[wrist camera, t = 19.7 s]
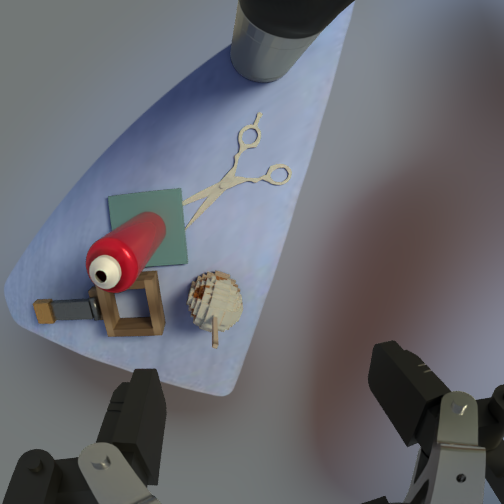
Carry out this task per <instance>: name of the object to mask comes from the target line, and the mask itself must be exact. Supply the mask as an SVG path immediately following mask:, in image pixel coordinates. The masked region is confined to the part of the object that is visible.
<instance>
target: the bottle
mask: <svg viewBox="0 0 504 504" xmlns="http://www.w3.org/2000/svg"><path fill="white" fill-rule="evenodd" d="M165 235H166V226H165V223H164V221H163V219H162V218H161V217H160V216H159V215H157V214H156V213H153V212H142V213H140V214H138V215H136V216H135V217H133V218H132V219H130V220H128V221H127V222H125V223H124V224H122V225H121V226H119V227H117V228H116V229H114V230H113V231H111V232H110V233H108V234H107V235H105V236H104V237H102V238H101V239H99V240H98V241H96V242H95V243H94V244H93V245H92V246H91V247H90V249H89V251H88V253H87V256H86V269H87V273H88V275H89V278H90V279H91V281H92V282H93V283H94V284H95V285H96V286H97V287H98V288H100V289H101V290H103V291H106V292H109V293H120V292H123V291H125V290H127V289H129V288H130V287H131V286H132V285H133V284H134V282H135V281H136V279H137V278H138V276H139V275H140V273H141V272H142V270H143V269H144V267H145V266H146V264H147V263H148V261H149V260H150V259H151V257H152V256H153V254H154V253H155V251H156V250H157V249H158V247H159V246H160V244H161V243H162V241H163V240H164V238H165Z"/></svg>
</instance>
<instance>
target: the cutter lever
mask: <svg viewBox="0 0 504 504" xmlns="http://www.w3.org/2000/svg"><path fill="white" fill-rule="evenodd" d="M33 306H34V310H35V313H36V316H37V319H38V323H39V324H52V323H55V321H56V320H79V319H93V318H94V320H96V321H97V320H100V319H101V315H100V312H99V308H98V303H97V299H96V297H95V296H93V297H90V298H89V299H72V300H52V299H37V300H36V301H35V302H34V303H33Z"/></svg>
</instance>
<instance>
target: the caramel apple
mask: <svg viewBox="0 0 504 504" xmlns="http://www.w3.org/2000/svg"><path fill="white" fill-rule="evenodd" d="M235 283H236V280H233V279H230V275H229V274H226V273H223V272H220V271H215V274H214V273H211V272H207V275H206V274H203V275H202V277H201V276H198V278H197V281H196V282H194V281H193V282H192V285H191V288H190V291H189V294H188V295H189V296H188V300H187V304H186V305H189V309H188V311H191V317H193V323H194V324H196V325H197V326H199V328H200V329H202V330H206V331H209V332H212V348H216V349H217V347H218V331H221V332H224V331H225V330H226V329H227V330H229V328H230V327H232V326H233V324H235V323H236V322H238V321H239V318H240V316H241V313H242V311H243V305H242V297H241V295H240V294H239V292H240V289H239V288H237V287H238V285H237V284H235Z"/></svg>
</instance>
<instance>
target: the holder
mask: <svg viewBox="0 0 504 504" xmlns="http://www.w3.org/2000/svg"><path fill="white" fill-rule="evenodd" d="M95 286H96V285H95ZM143 288H145V289H146V295H147V300H148V306H149V311H150V316H151V317H137V318H120V317H119V313H118V309H117V304H116V300H115V295H114V293H109V292H106V291H103V290H101V289H100V288H98V287H97V286H96V287H92V288H91V289H90V290H89V291H88V293H89V297H93V296H95V297H96V299H97V303H98V308H99V312H100V315H101V319H100V320H104V323H105V327H106V330H107V334H108V337H117V336H154V335H162V334H163V330H164V327H165V323H166V322H165V317H164V311H163V306H162V300H161V294H160V288H159V281H158V275H157V271H144V272H141V273H140V275H139V276H138V278H137V279H136V281H135V282H134V284H133V285H132V286H131V287H130V288H129V289H143Z"/></svg>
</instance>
